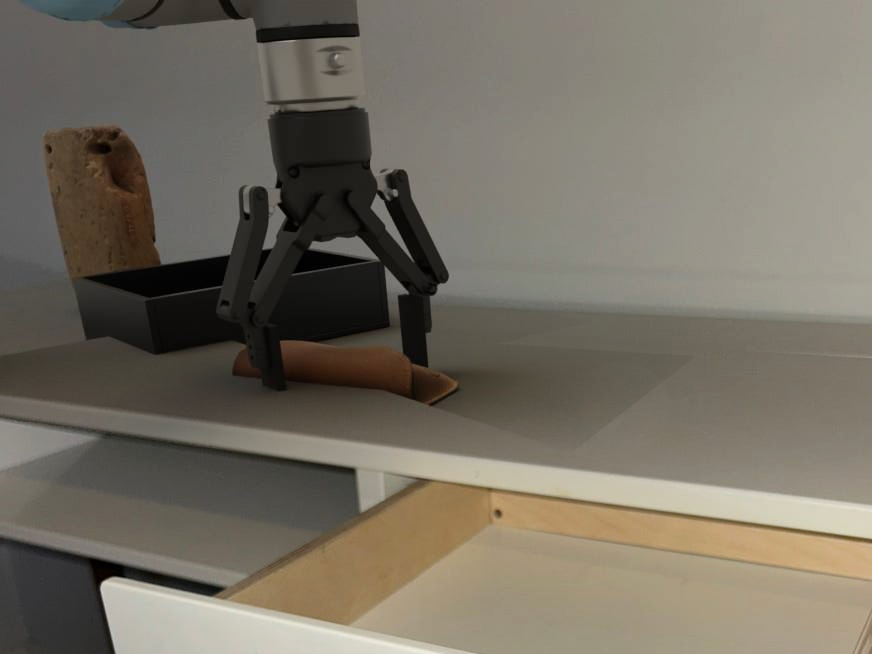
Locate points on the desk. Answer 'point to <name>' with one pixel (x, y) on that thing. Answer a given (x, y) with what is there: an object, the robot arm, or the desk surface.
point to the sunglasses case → (355, 370)
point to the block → (100, 200)
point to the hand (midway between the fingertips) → (349, 390)
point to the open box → (199, 294)
